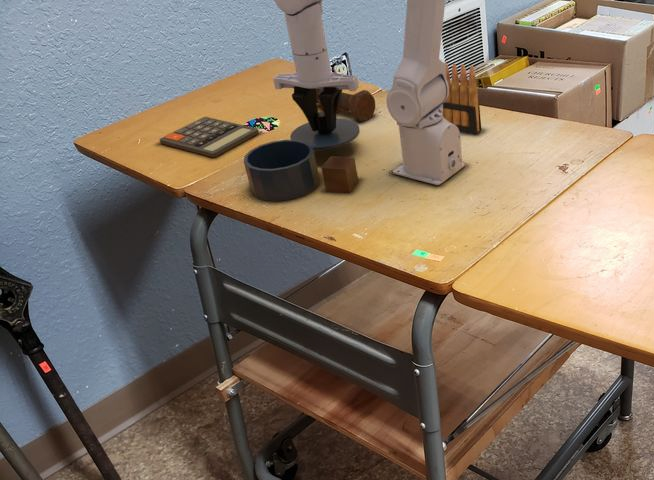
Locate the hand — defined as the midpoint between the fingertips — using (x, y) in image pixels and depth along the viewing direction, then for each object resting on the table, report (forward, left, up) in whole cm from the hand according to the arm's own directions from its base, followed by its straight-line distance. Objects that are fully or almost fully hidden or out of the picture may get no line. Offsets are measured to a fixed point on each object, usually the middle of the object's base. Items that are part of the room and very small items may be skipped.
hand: (324, 129), depth 124 cm
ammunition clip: (-15, -18, -4) cm, 24 cm away
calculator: (+25, +6, -4) cm, 26 cm away
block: (-11, +9, -4) cm, 15 cm away
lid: (0, 0, -1) cm, 1 cm away
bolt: (+10, -15, -4) cm, 19 cm away
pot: (-2, +13, -4) cm, 14 cm away
